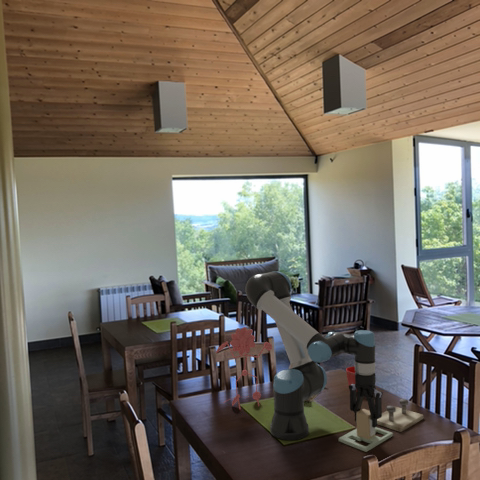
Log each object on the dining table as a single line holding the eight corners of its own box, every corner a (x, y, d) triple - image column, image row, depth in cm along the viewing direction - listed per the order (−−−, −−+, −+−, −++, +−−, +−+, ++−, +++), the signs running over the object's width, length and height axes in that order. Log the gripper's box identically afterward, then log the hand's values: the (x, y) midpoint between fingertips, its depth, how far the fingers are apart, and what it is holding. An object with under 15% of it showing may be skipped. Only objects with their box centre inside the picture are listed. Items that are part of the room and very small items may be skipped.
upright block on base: (338, 441, 185) (338, 414, 184) (365, 426, 197) (365, 401, 197) (366, 452, 176) (365, 424, 176) (392, 435, 188) (392, 409, 188)
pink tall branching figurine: (277, 403, 223) (274, 327, 222) (223, 413, 214) (219, 333, 213) (263, 393, 237) (261, 321, 236) (212, 402, 228) (209, 327, 227)
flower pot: (371, 387, 241) (371, 367, 240) (364, 394, 231) (364, 374, 231) (350, 384, 246) (350, 364, 246) (343, 390, 237) (342, 371, 236)
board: (371, 422, 201) (371, 405, 200) (395, 409, 213) (394, 394, 212) (400, 432, 191) (400, 414, 191) (423, 418, 203) (423, 402, 203)
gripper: (392, 375, 181) (392, 436, 182) (350, 364, 194) (351, 422, 196) (380, 380, 176) (381, 443, 177) (339, 369, 189) (340, 428, 191)
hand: (365, 432), depth 186 cm, fingers closed on upright block on base, 5 cm apart
